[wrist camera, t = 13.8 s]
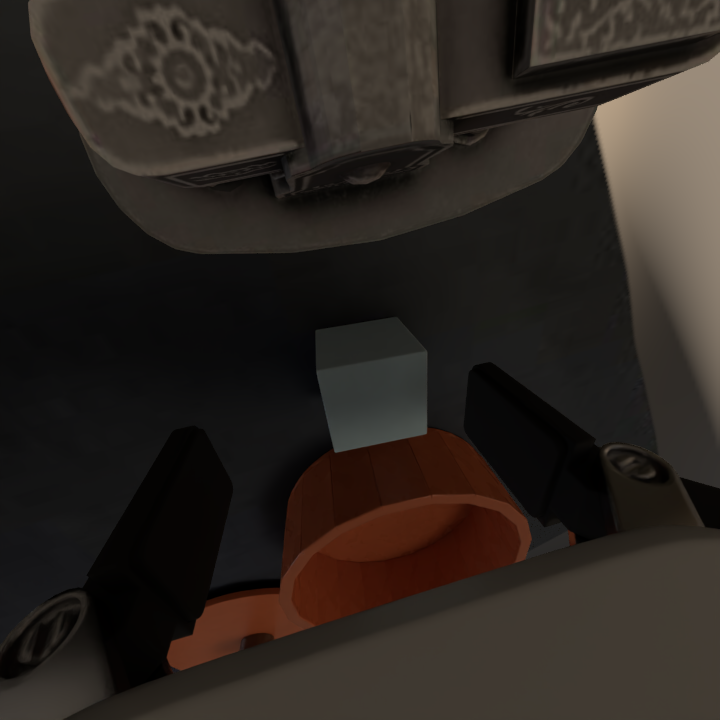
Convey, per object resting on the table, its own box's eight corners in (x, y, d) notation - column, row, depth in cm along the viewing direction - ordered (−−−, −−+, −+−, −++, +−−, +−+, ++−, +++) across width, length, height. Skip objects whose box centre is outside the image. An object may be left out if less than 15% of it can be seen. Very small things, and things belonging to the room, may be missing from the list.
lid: (126, 609, 22) (48, 773, 15) (328, 560, 23) (335, 692, 17) (205, 674, 29) (176, 801, 23) (353, 635, 31) (364, 744, 24)
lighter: (248, 249, 11) (22, 350, 2) (212, 150, 10) (-797, -563, 1) (431, 209, 12) (793, 174, 3) (426, 107, 10) (1213, -675, 1)
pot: (260, 453, 16) (240, 538, 12) (496, 406, 18) (556, 466, 13) (311, 577, 24) (310, 658, 19) (475, 537, 25) (510, 604, 21)
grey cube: (314, 329, 13) (315, 370, 10) (396, 316, 14) (427, 350, 10) (329, 397, 15) (334, 453, 12) (400, 384, 16) (427, 434, 12)
